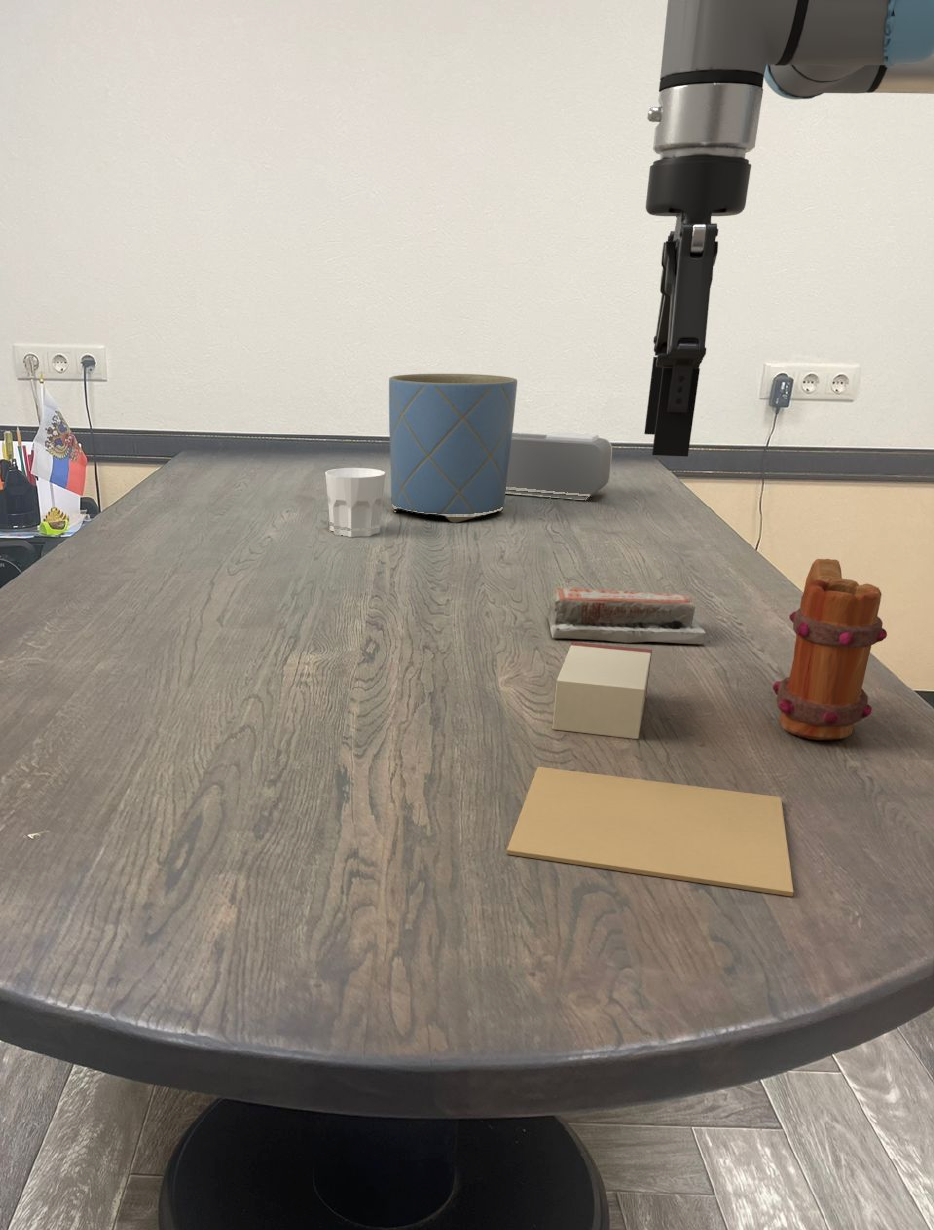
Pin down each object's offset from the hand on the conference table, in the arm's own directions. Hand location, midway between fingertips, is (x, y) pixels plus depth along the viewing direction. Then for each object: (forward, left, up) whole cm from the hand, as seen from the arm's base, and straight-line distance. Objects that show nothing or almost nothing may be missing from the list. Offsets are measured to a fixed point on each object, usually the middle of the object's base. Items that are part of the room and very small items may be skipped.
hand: (664, 444), depth 92 cm
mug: (-17, -8, -27) cm, 32 cm away
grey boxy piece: (+3, -33, -27) cm, 42 cm away
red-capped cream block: (+3, -4, -26) cm, 27 cm away
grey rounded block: (+27, -126, -26) cm, 132 cm away
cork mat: (-3, +20, -26) cm, 33 cm away
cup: (+51, -78, -26) cm, 97 cm away
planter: (+40, -101, -27) cm, 112 cm away
